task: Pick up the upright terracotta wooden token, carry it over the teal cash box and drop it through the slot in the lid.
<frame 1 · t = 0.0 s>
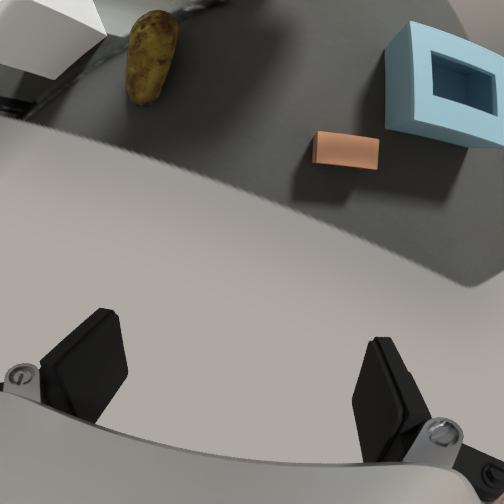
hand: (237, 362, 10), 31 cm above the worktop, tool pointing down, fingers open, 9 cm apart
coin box: (430, 97, 33), on the worktop
potato: (159, 64, 36), on the worktop
token: (339, 152, 37), on the worktop
milk: (72, 36, 35), on the worktop
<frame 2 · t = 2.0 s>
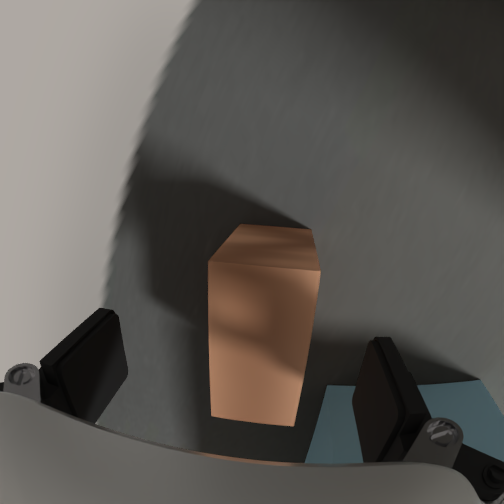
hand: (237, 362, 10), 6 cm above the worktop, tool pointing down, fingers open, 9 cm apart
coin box: (382, 448, 19), on the worktop
token: (270, 291, 16), on the worktop
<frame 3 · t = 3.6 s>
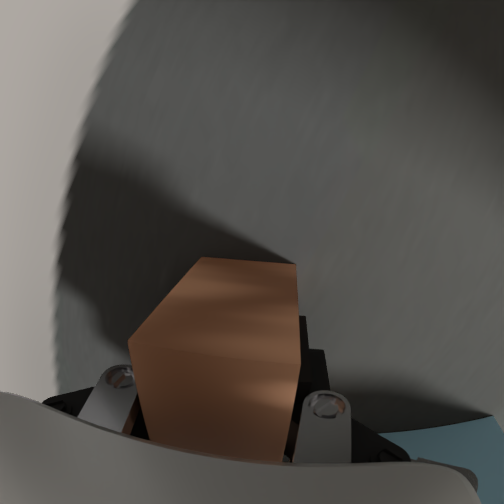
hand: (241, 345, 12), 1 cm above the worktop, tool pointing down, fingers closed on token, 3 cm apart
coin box: (380, 489, 15), on the worktop
token: (244, 341, 12), on the worktop, touching gripper
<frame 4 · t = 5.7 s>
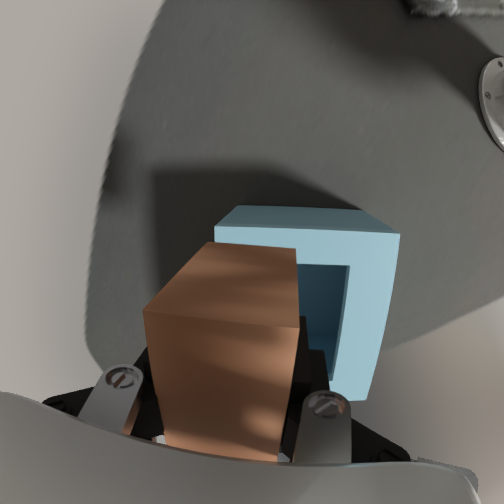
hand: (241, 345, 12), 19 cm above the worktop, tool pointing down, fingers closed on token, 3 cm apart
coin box: (297, 277, 31), on the worktop
token: (247, 322, 13), point 17 cm above the worktop, touching gripper
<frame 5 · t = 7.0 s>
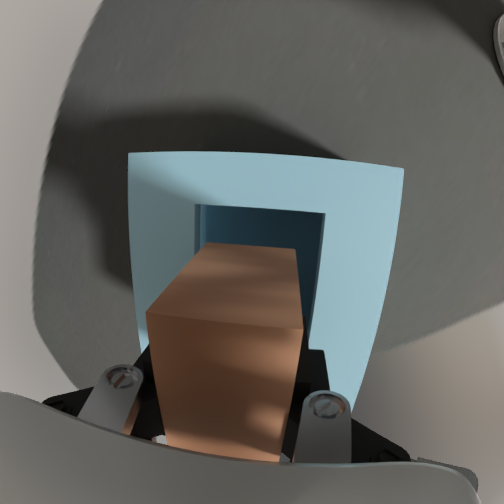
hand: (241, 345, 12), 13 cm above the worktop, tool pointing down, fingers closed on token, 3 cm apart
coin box: (267, 249, 24), on the worktop
token: (246, 323, 13), point 11 cm above the worktop, touching gripper
when the fingers open (12 cm above the worktop, at t = 7.8 s): token drops 10 cm, resting on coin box.
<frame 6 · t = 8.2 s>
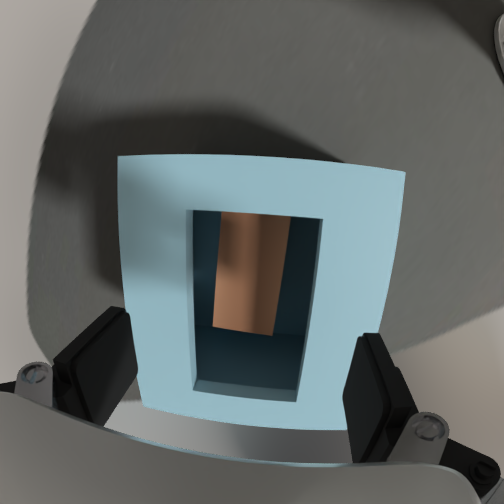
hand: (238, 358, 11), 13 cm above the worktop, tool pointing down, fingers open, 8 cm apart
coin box: (263, 254, 23), on the worktop
token: (258, 246, 22), point 1 cm above the worktop, touching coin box
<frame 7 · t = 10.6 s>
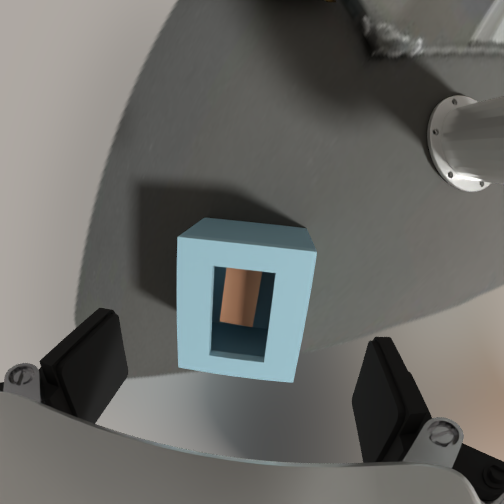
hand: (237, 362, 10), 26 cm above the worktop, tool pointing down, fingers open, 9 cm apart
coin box: (249, 279, 38), on the worktop
token: (246, 274, 37), point 1 cm above the worktop, touching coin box
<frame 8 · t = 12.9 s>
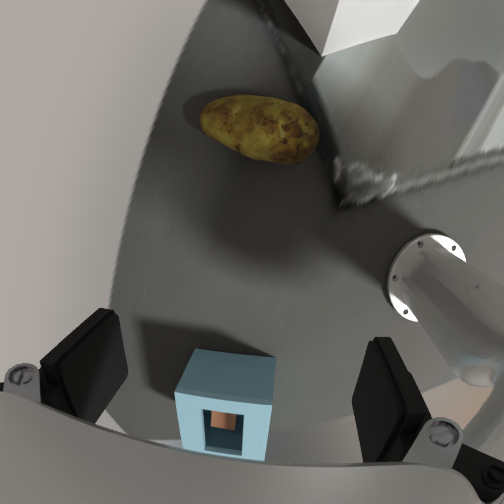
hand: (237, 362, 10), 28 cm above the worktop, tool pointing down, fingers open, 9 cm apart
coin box: (233, 388, 46), on the worktop
potato: (260, 128, 35), on the worktop
token: (230, 387, 45), point 1 cm above the worktop, touching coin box
milk: (337, 8, 29), on the worktop
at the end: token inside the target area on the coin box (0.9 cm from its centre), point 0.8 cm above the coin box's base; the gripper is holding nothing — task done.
